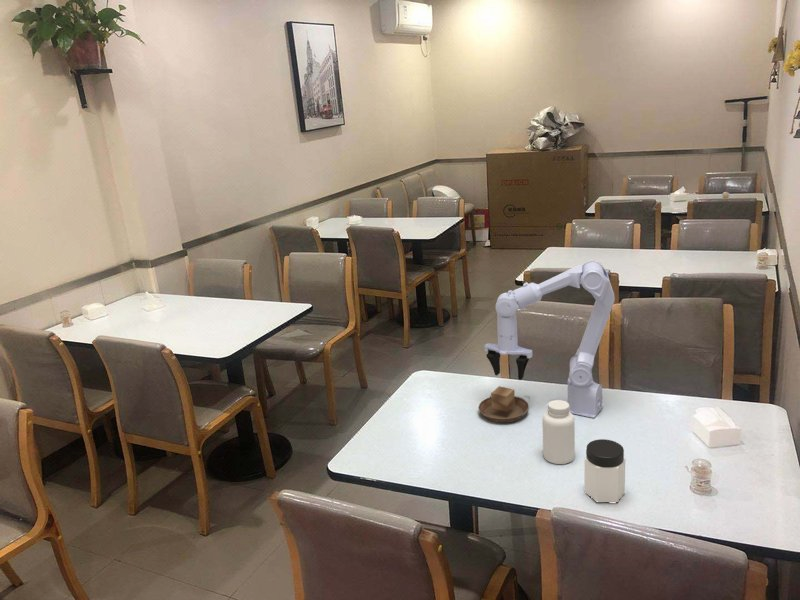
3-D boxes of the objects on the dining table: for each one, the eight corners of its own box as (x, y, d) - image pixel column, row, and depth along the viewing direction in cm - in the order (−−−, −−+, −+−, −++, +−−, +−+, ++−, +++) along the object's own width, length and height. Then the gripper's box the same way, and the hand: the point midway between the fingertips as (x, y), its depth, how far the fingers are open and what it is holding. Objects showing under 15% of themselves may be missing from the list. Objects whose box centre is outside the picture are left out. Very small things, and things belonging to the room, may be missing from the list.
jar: (595, 478, 153) (595, 434, 149) (628, 489, 147) (630, 444, 144) (579, 497, 146) (579, 451, 143) (613, 509, 141) (614, 462, 137)
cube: (514, 404, 187) (514, 389, 186) (507, 411, 183) (506, 396, 182) (499, 401, 190) (499, 386, 188) (491, 408, 186) (491, 393, 185)
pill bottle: (575, 450, 165) (575, 398, 161) (573, 466, 158) (573, 413, 154) (544, 447, 168) (544, 396, 163) (541, 463, 161) (540, 410, 156)
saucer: (472, 423, 184) (472, 414, 183) (486, 400, 197) (486, 392, 196) (522, 429, 178) (522, 421, 178) (533, 405, 191) (533, 397, 190)
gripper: (478, 335, 185) (481, 377, 190) (525, 341, 177) (526, 385, 181) (489, 327, 191) (491, 368, 195) (534, 333, 183) (535, 376, 187)
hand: (509, 376), depth 189 cm, fingers open, 7 cm apart
